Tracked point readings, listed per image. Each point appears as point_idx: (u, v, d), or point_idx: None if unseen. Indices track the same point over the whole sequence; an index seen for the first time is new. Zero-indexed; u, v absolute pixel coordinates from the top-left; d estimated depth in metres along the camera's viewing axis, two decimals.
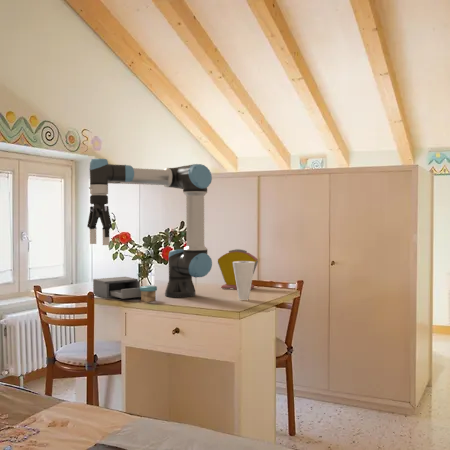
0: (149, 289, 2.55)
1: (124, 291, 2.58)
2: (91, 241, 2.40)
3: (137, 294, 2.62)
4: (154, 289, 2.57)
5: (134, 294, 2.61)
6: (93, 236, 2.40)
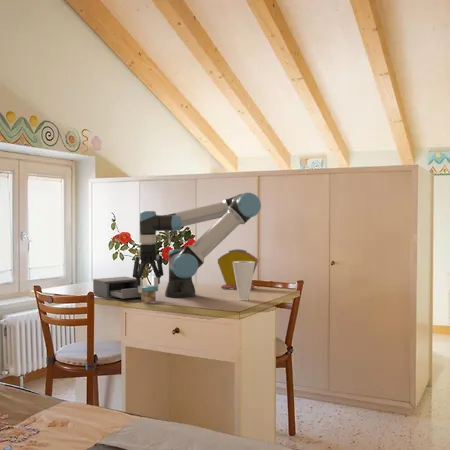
0: (149, 289, 2.55)
1: (124, 291, 2.58)
2: None
3: (137, 294, 2.62)
4: (154, 289, 2.57)
5: (134, 294, 2.61)
6: (155, 284, 2.62)
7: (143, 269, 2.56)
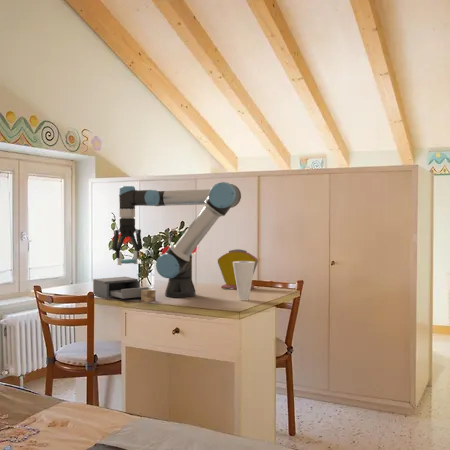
0: (128, 261, 2.64)
1: (124, 291, 2.58)
2: None
3: (137, 294, 2.62)
4: (133, 261, 2.66)
5: (134, 294, 2.61)
6: (134, 257, 2.71)
7: (122, 242, 2.65)
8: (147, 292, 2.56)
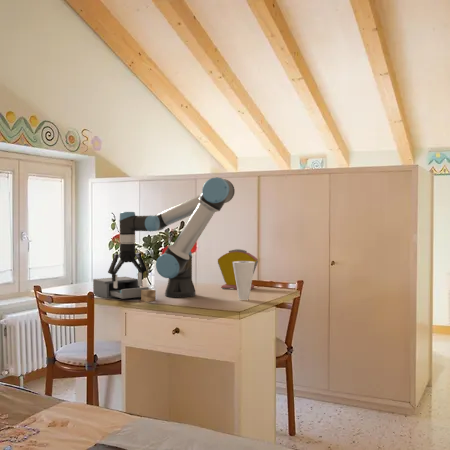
0: None
1: (124, 291, 2.58)
2: (138, 283, 2.73)
3: (137, 294, 2.62)
4: None
5: (134, 294, 2.61)
6: (139, 279, 2.72)
7: (120, 266, 2.65)
8: (147, 292, 2.56)
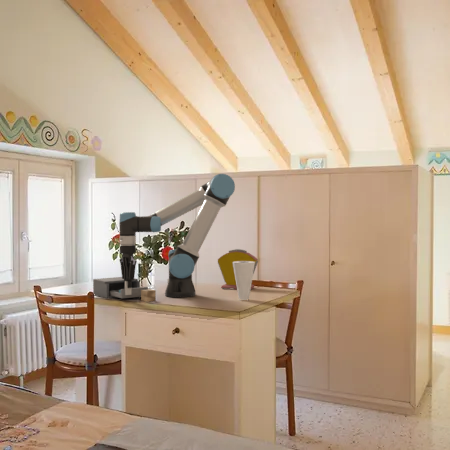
0: None
1: (123, 291, 2.59)
2: None
3: (136, 294, 2.63)
4: None
5: (133, 294, 2.62)
6: None
7: None
8: (147, 292, 2.56)
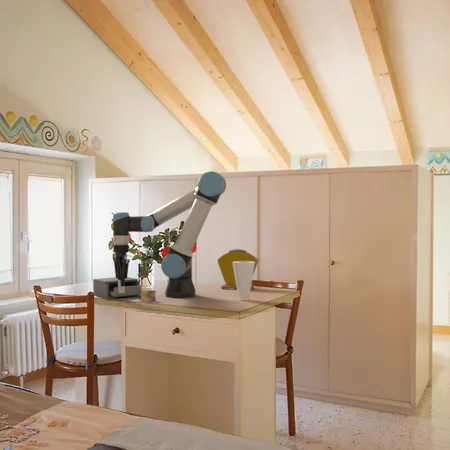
0: None
1: (117, 289, 2.65)
2: None
3: (129, 292, 2.69)
4: None
5: (126, 292, 2.68)
6: None
7: None
8: (147, 292, 2.56)
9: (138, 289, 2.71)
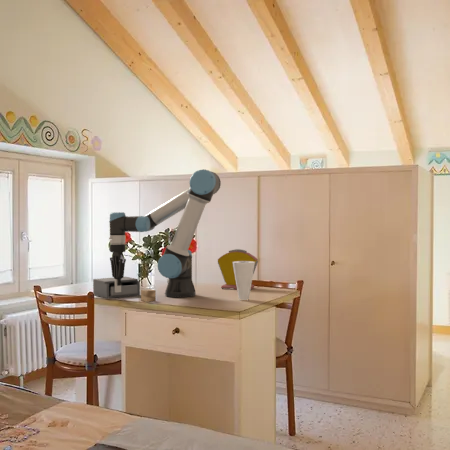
0: None
1: (113, 288, 2.68)
2: None
3: (126, 291, 2.72)
4: None
5: (123, 291, 2.71)
6: None
7: None
8: (147, 292, 2.56)
9: (134, 288, 2.74)
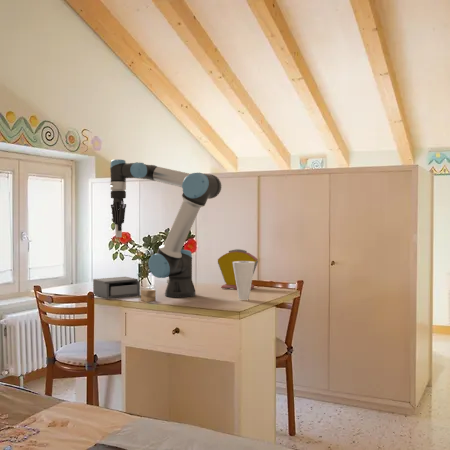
0: None
1: (113, 288, 2.68)
2: None
3: (126, 291, 2.72)
4: None
5: (122, 291, 2.71)
6: None
7: None
8: (147, 292, 2.56)
9: (134, 288, 2.75)
